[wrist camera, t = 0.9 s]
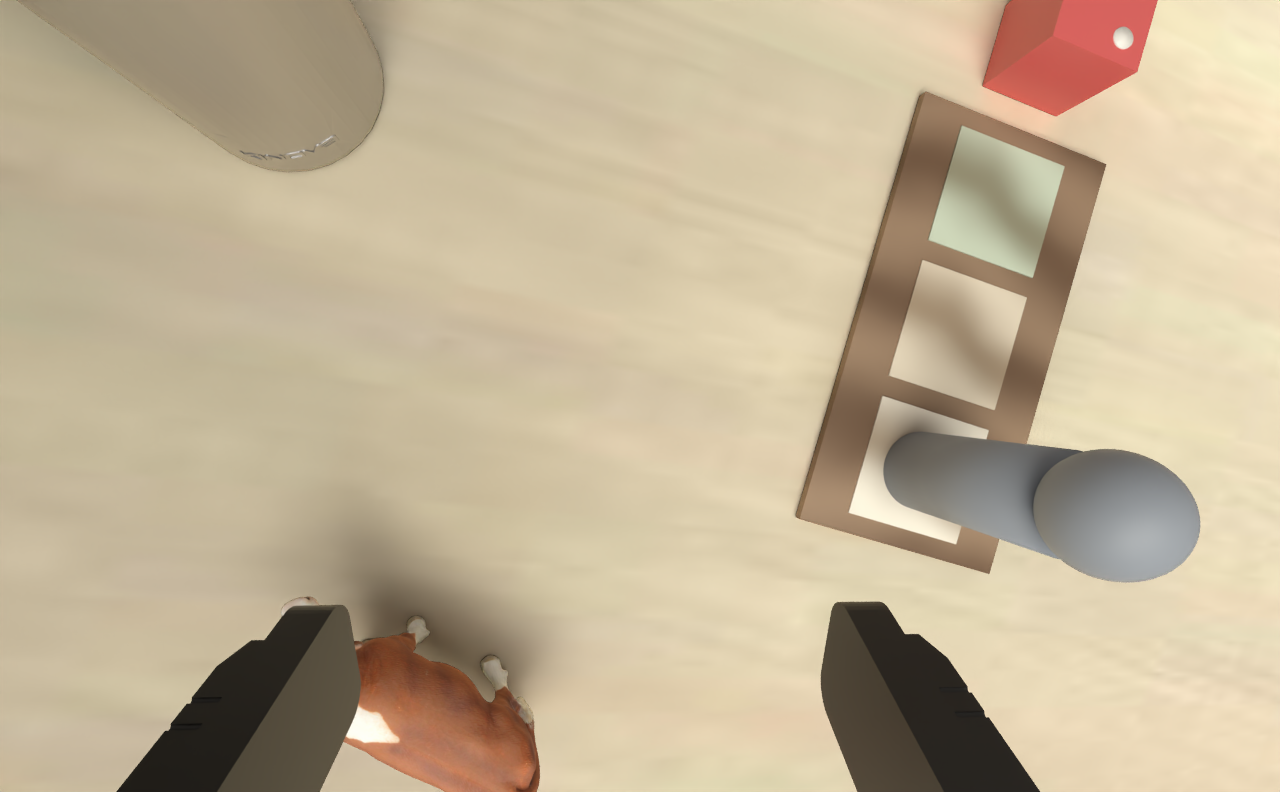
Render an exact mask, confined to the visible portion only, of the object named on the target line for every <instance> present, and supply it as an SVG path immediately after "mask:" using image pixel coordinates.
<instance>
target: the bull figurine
mask: <svg viewBox="0 0 1280 792" xmlns="http://www.w3.org/2000/svg"><path fill="white" fill-rule="evenodd" d="M303 605H319V604H318V602H317V601H316V600H315V599H314V598H313V597H299V598H296V599H293V600H291V601H289V602H288V603H286V604H285V605H284V606H283V607H282V611H281V614H282V616H283V615H284V614H285V612H286V611H287V610H288V609H289V608H291V607H293V606H303ZM429 633H430V631H429V630H427V629H426V626H425V620H424V619H423V618H422V617H420V616H413V617H411V618H410V619H409V620H408V622H407V633H402V634H400V635H399V636H397V635H393V636H389V637H386V638H375V639H372V640H365V641H363V642H359V641H354V644H355V650H356V655H357V661H358V666H359V672H360V679H361V690H360V698H359V703H358V708H357V711H356V714H355V717H354V720H353V722H352V724H351V726H350V728H349V731H348V733H347V735H346V737H345V739H344V741H343V742H345V743H347V744H349V745H352V746H354V747H356V748H358V749H361V750H363V751H365V752H367V753H368V754H370V755H371V756H372V757H374V758H375V759H377V760H379V761H381V762H383V763H385V764H387V765H389V766H391V767H392V768H394V769H396V770H398V771H400V772H402V773H404V774H407V775H409V776H411V777H413V778H416V779H418V780H421V781H423V782H425V783H428V784H430V785H433V786H435V787H437V788H439V789H441V790H443V791H444V792H537V789H538V786H539V779H540V766H539V758H538V753H537V748H536V743H535V735H534V718H533V713H532V711H531V709H530V708H529V706H528V704H527V703H526V702H525V700H524V699H523V698H522V697H518V698H517V699H516V700H515V699H514V697H513V695H512V693H511V692H510V691H509V689H508V686H507V676H508V671H507V670H503V669H502V667H501V664H500V660H499V658H498V657H496V656H493V655H489V656H486V657H485V658H484V659H483V660H482V661H481V669H482V671H483V672H484V674H485V676H486V677H487V678H488V679H489V681H490V682H491V683H492V684H493V686H494V689H495V699H494V700H493V702H492V703H490V702H487V701H486V700H484V698H483V697H482V696H481V695H480V693H479V692H478V690H477V688H476V686H475V685H474V684H473V682H472V681H471V680H470V679H469V678H468V677H467V676H466V675H465V674H464V673H463V672H461V671H460V670H458V669H456V668H455V667H452V666H450V665H448V664H445V663H441V662H433V661H429V660H427V659H425V658H424V657H422V656H420V655H418V654H416V653H414V652H413V651H414V650H415V648H416V644H417V643H421V642H422V640H423V639H424V638H426V637H428V636H429Z"/></svg>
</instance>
